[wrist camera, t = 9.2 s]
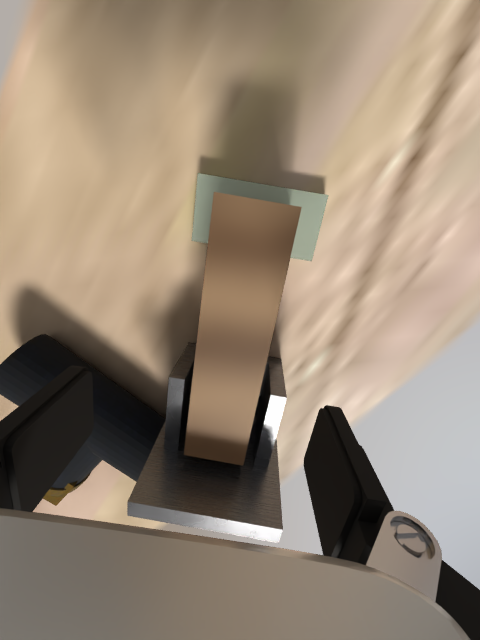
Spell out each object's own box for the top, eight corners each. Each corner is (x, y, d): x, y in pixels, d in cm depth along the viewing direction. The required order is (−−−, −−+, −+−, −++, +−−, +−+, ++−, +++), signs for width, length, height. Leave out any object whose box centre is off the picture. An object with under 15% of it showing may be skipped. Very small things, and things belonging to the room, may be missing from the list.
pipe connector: (105, 544, 24) (-58, 451, 21) (131, 488, 29) (2, 407, 26) (184, 476, 20) (3, 354, 18) (198, 426, 25) (58, 324, 23)
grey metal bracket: (272, 430, 24) (278, 542, 16) (173, 412, 24) (127, 515, 16) (290, 360, 22) (309, 451, 13) (179, 340, 22) (128, 419, 13)
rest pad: (309, 259, 19) (311, 261, 18) (195, 239, 19) (191, 240, 18) (324, 196, 17) (328, 195, 16) (201, 175, 17) (197, 173, 16)
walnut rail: (246, 414, 23) (243, 465, 18) (199, 405, 23) (183, 454, 18) (290, 209, 17) (301, 207, 12) (226, 198, 17) (213, 191, 12)
